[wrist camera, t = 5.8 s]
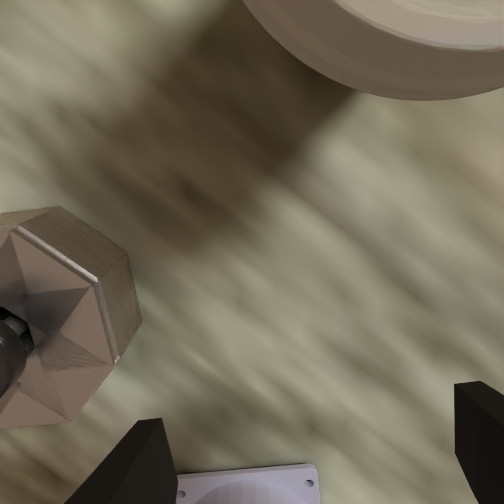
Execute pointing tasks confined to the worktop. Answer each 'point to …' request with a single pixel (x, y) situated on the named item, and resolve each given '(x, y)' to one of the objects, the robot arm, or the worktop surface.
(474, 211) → the worktop surface
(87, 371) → the grey octagonal hollow piece
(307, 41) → the coffee cup
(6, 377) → the plunger
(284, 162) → the worktop surface
